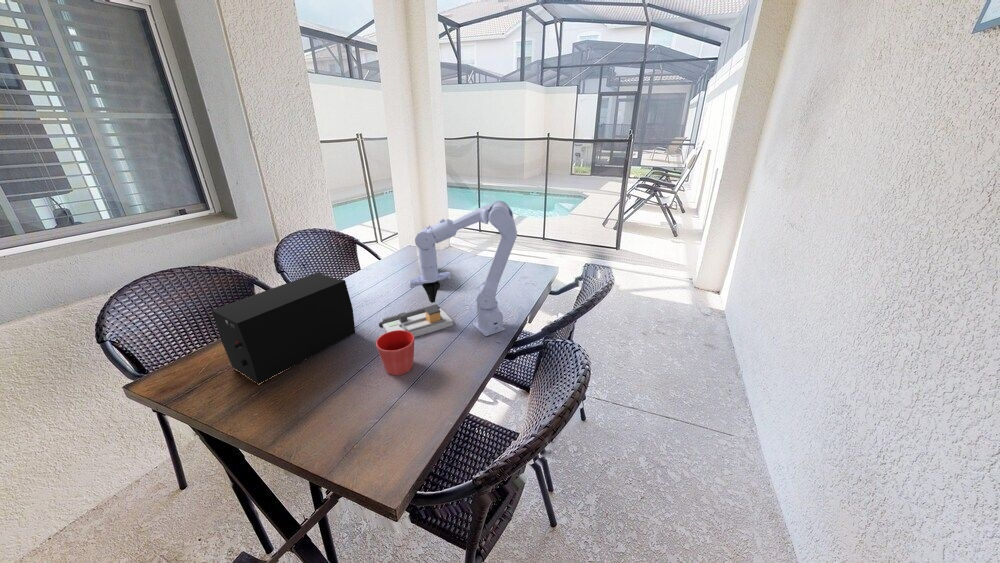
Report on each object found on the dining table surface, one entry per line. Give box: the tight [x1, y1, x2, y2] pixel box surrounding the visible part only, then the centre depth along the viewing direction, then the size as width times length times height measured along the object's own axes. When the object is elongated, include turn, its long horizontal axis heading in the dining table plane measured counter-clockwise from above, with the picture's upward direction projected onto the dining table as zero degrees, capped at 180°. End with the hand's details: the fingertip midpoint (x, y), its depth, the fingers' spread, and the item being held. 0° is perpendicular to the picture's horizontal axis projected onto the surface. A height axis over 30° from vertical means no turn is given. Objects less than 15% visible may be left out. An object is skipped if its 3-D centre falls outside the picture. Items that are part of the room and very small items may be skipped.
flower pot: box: [375, 330, 415, 376], centre depth 104 cm, size 11×11×10 cm
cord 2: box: [378, 306, 441, 328], centre depth 132 cm, size 2×24×2 cm, turn 123°
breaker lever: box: [425, 306, 441, 323], centre depth 126 cm, size 4×4×4 cm
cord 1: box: [382, 304, 439, 322], centre depth 135 cm, size 2×22×2 cm, turn 122°
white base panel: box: [382, 307, 454, 338], centre depth 126 cm, size 11×22×4 cm, turn 122°
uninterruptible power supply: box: [210, 271, 356, 384], centre depth 110 cm, size 16×34×20 cm, turn 149°
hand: (432, 301), depth 124 cm, fingers closed
